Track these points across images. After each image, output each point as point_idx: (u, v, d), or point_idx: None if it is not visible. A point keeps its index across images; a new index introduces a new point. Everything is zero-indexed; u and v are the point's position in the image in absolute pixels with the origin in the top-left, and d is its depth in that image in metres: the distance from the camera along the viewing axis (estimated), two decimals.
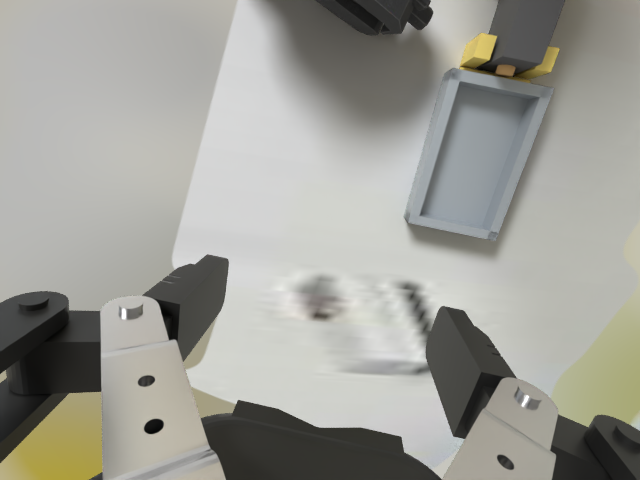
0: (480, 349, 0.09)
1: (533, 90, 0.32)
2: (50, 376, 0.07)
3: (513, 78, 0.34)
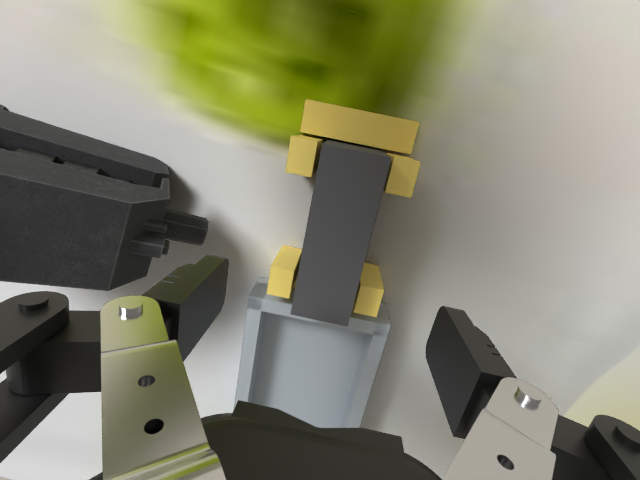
0: (480, 349, 0.09)
1: (362, 326, 0.23)
2: (50, 376, 0.07)
3: None
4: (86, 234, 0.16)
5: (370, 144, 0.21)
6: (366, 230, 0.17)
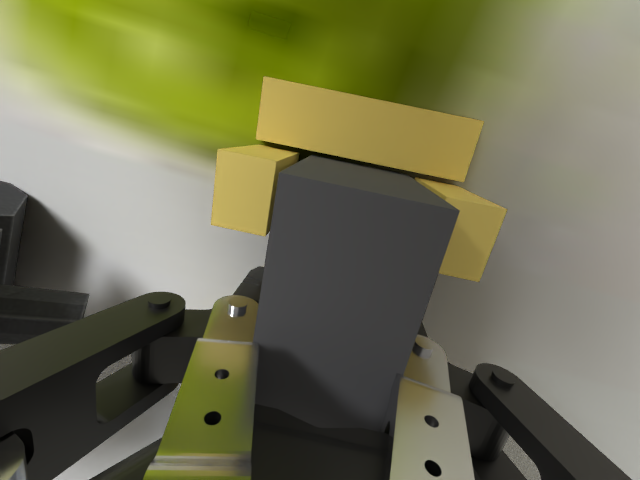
0: None
1: None
2: (172, 367, 0.08)
3: None
4: None
5: (387, 163, 0.11)
6: (388, 373, 0.07)
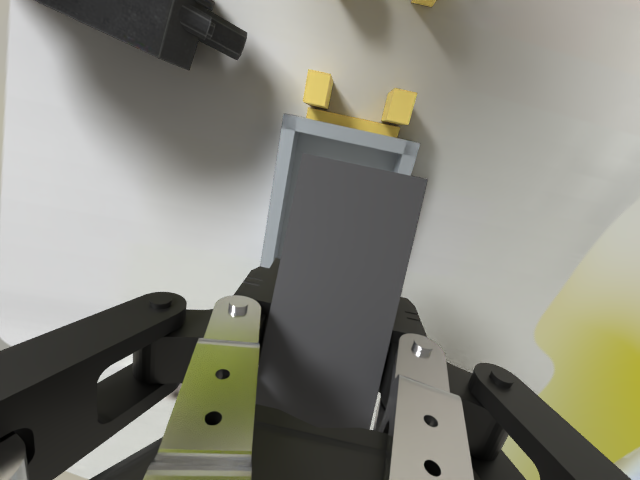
0: (396, 313, 0.10)
1: (393, 145, 0.23)
2: (173, 367, 0.08)
3: (377, 124, 0.25)
4: None
5: None
6: (384, 314, 0.09)
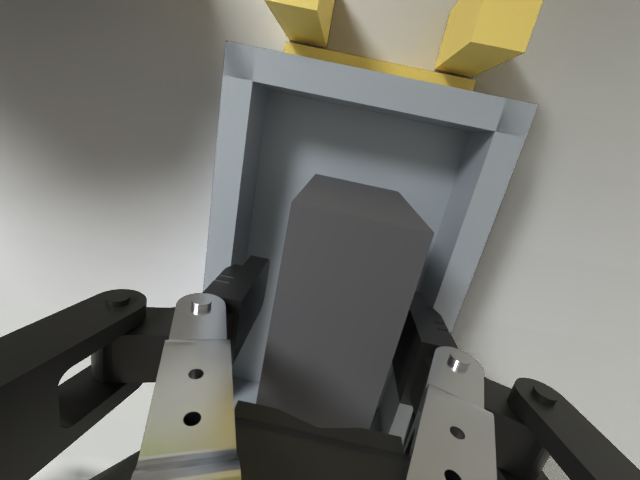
0: (426, 324, 0.10)
1: (474, 111, 0.10)
2: (132, 366, 0.08)
3: (428, 74, 0.12)
4: None
5: None
6: (379, 362, 0.09)
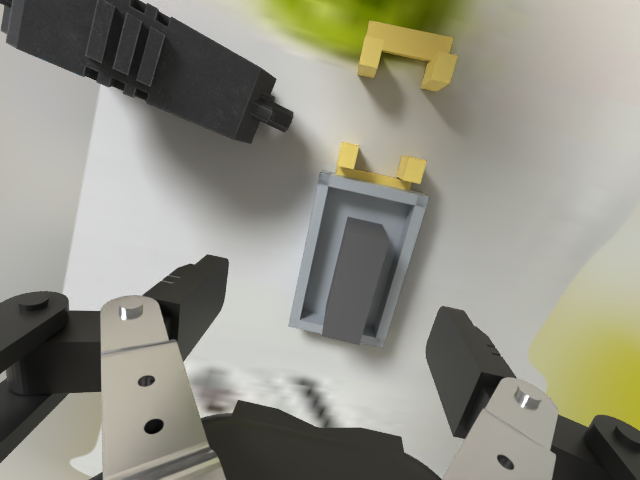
0: (480, 349, 0.09)
1: (407, 198, 0.29)
2: (50, 376, 0.07)
3: (393, 179, 0.31)
4: (230, 88, 0.23)
5: (416, 55, 0.28)
6: (373, 283, 0.28)
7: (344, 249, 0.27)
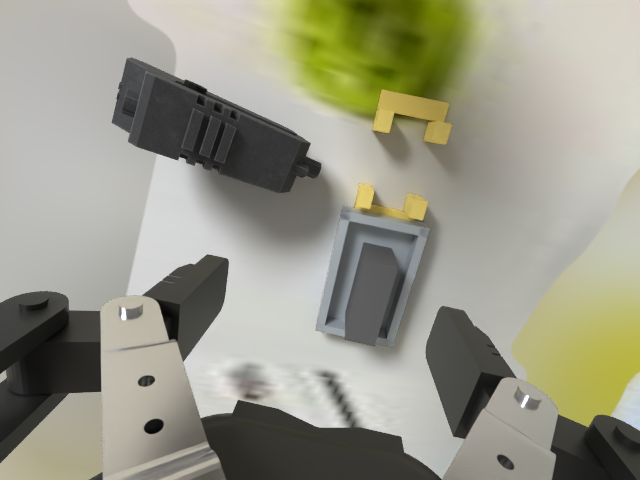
0: (480, 349, 0.09)
1: (412, 230, 0.37)
2: (50, 376, 0.07)
3: (401, 212, 0.39)
4: (278, 157, 0.30)
5: (419, 116, 0.35)
6: (385, 299, 0.35)
7: (363, 273, 0.35)
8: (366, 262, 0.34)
